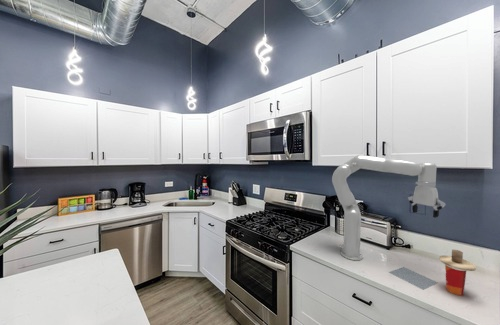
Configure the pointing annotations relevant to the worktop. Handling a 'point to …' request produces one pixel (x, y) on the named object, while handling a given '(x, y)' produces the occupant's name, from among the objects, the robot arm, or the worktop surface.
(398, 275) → the grey mat
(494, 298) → the worktop surface
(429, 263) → the worktop surface
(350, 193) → the robot arm
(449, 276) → the paper cup
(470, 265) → the oak lid
